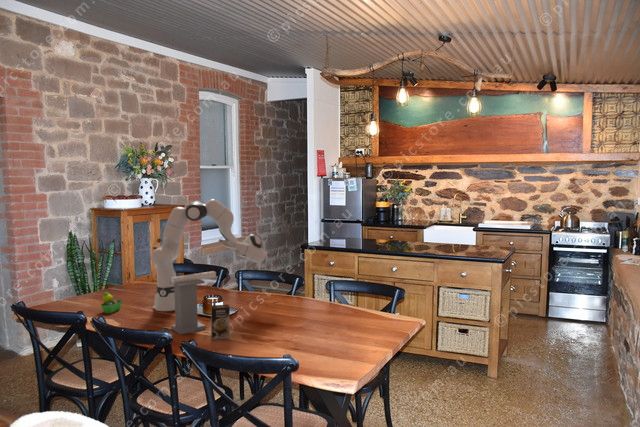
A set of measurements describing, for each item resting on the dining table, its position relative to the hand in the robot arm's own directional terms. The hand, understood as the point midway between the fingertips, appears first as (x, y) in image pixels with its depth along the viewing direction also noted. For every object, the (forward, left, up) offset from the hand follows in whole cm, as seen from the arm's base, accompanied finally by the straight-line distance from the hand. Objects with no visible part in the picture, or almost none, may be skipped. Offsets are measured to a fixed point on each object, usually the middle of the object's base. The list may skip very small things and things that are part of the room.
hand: (222, 241), depth 289 cm
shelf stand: (+28, -11, -43) cm, 53 cm away
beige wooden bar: (+25, -9, -17) cm, 32 cm away
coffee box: (+39, +10, -44) cm, 59 cm away
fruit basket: (-1, -70, -44) cm, 83 cm away
